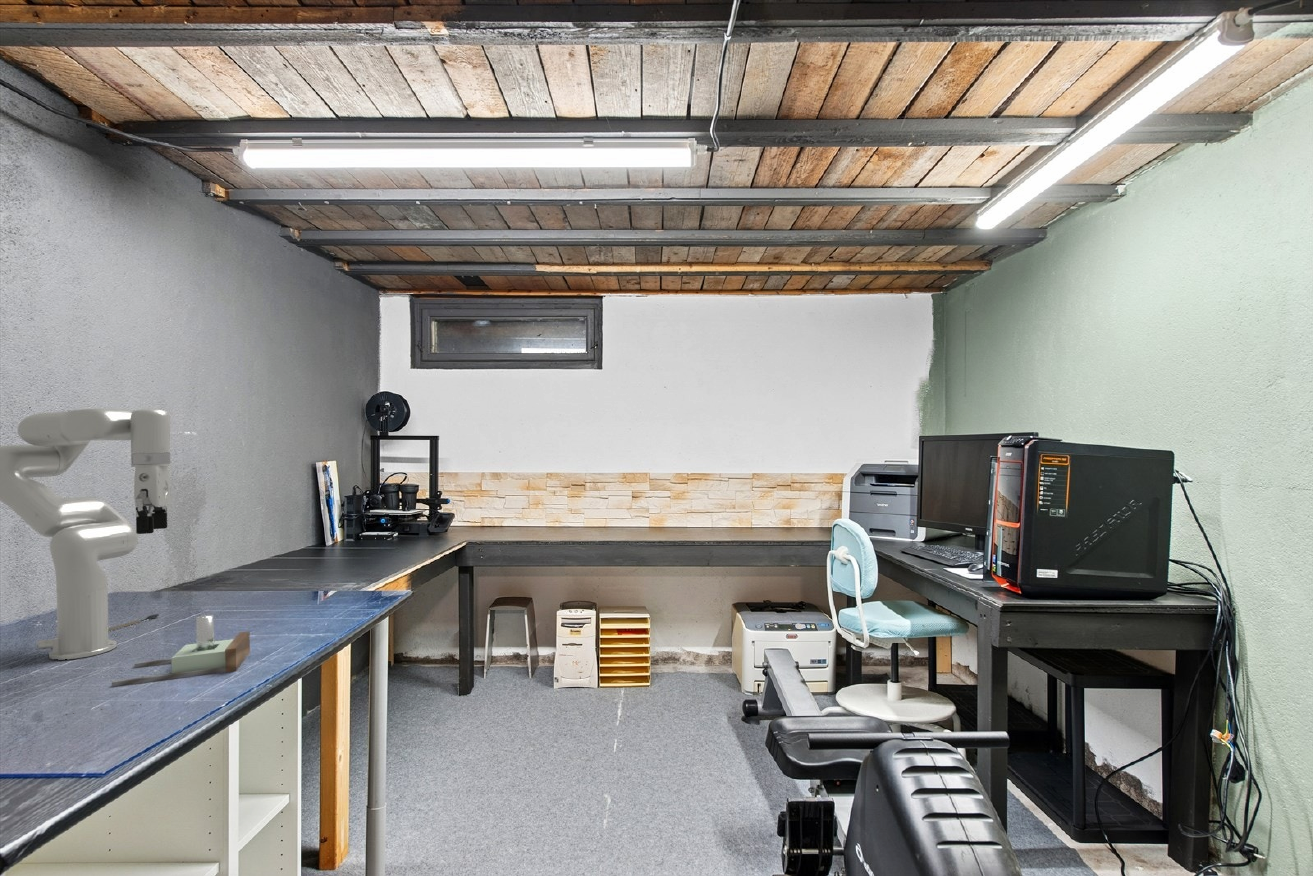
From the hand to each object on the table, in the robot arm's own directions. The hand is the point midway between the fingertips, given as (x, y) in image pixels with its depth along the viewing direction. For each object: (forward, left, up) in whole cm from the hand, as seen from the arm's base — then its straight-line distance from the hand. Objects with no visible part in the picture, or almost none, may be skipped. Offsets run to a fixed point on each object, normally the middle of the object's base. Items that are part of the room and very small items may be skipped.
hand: (152, 531), depth 157 cm
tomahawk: (-17, +36, -31) cm, 50 cm away
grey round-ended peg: (+15, -19, -28) cm, 37 cm away
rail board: (+9, -19, -30) cm, 37 cm away
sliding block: (+15, -19, -29) cm, 38 cm away
